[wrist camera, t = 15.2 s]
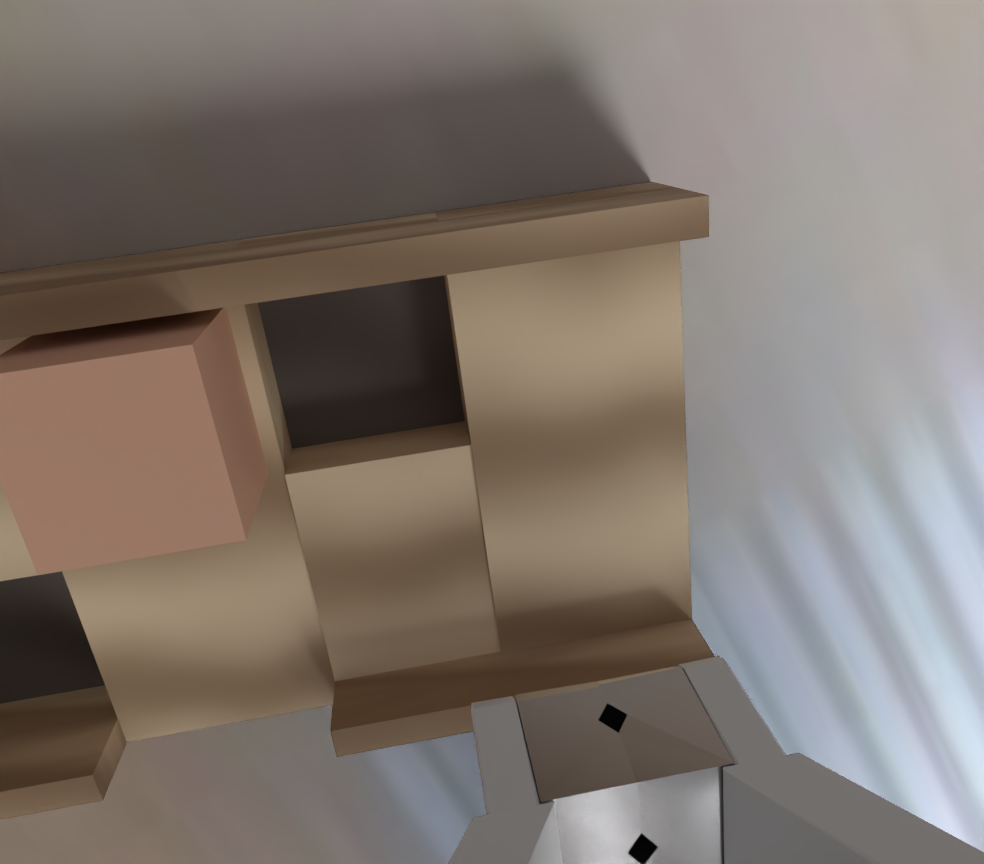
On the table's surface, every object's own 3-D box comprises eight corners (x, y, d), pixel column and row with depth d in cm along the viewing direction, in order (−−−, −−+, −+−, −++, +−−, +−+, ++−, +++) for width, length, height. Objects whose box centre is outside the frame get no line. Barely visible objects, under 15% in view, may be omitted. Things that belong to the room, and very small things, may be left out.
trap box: (670, 605, 29) (717, 685, 25) (-183, 757, 27) (-286, 872, 23) (651, 181, 24) (708, 195, 20) (-427, 332, 22) (-619, 384, 17)
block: (268, 472, 23) (246, 539, 20) (93, 501, 23) (37, 575, 19) (225, 305, 21) (191, 344, 18) (34, 333, 21) (-41, 379, 17)
